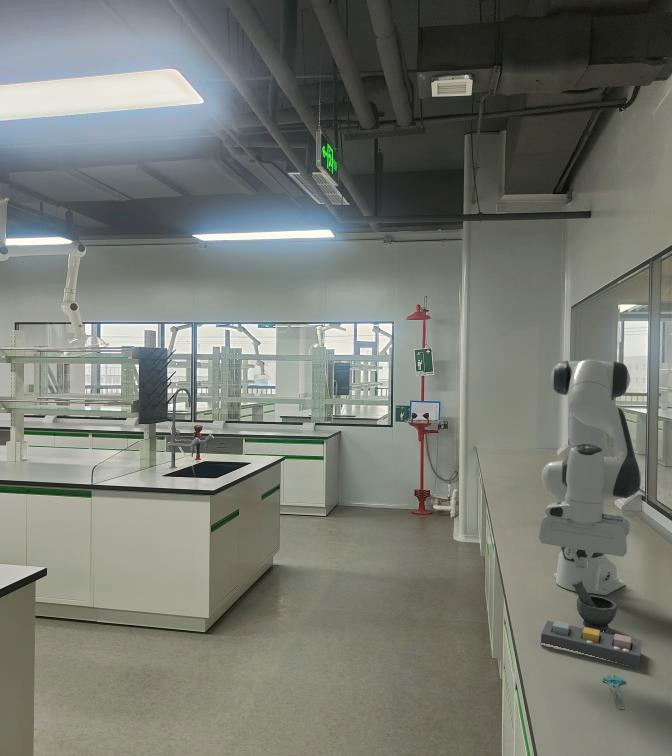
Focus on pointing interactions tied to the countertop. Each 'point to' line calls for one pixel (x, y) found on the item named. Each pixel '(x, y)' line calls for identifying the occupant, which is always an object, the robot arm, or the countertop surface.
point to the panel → (593, 645)
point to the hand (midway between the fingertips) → (580, 567)
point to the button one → (591, 634)
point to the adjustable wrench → (614, 681)
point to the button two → (622, 641)
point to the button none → (561, 628)
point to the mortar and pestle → (594, 608)
